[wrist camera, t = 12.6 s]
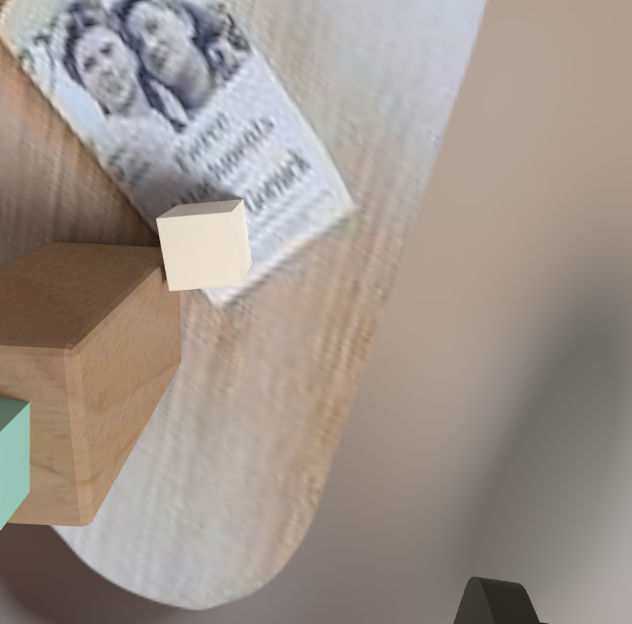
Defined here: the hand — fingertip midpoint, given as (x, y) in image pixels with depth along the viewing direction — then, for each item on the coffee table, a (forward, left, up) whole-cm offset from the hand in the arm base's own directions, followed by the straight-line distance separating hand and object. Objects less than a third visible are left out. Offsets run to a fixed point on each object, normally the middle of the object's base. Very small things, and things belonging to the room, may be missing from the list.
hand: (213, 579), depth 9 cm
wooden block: (+10, -13, -36) cm, 40 cm away
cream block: (+3, -6, -36) cm, 37 cm away
